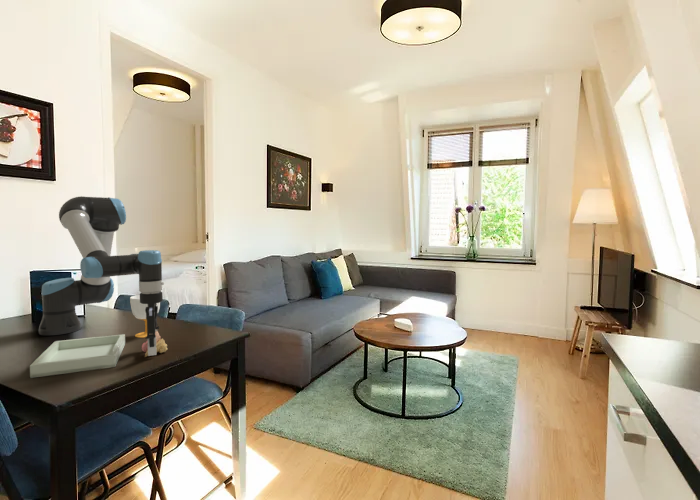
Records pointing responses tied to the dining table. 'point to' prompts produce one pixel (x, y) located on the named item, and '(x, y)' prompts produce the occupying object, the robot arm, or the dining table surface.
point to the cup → (140, 312)
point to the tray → (78, 355)
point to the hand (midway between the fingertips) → (153, 350)
